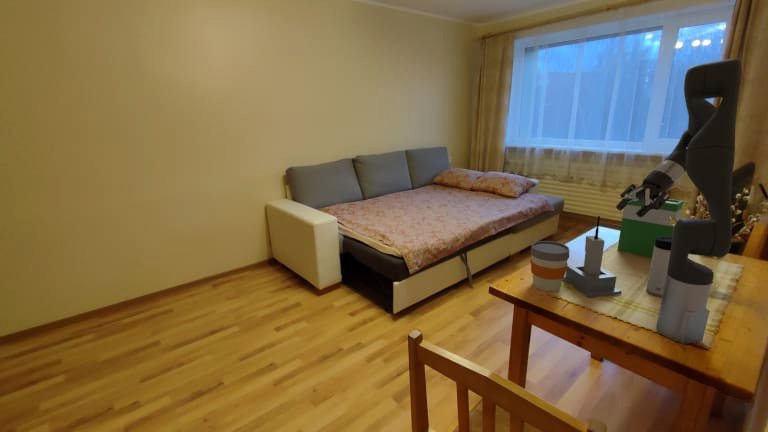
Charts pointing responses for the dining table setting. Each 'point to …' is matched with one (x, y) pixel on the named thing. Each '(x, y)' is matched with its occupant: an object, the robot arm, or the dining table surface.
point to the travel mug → (659, 266)
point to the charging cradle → (591, 282)
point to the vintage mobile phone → (593, 253)
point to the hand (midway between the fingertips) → (627, 212)
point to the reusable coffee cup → (548, 264)
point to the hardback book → (646, 226)
